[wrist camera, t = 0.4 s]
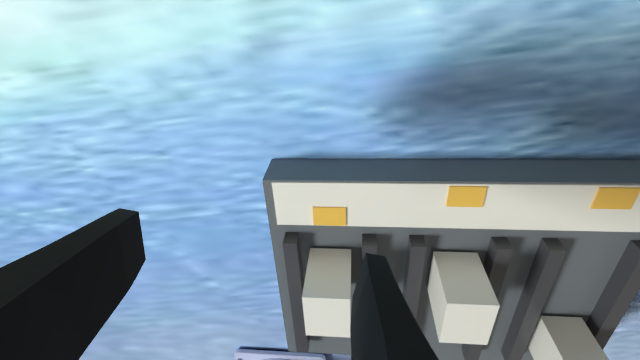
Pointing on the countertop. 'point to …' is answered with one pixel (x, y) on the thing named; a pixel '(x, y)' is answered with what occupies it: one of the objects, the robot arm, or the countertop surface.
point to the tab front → (327, 293)
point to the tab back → (564, 340)
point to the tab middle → (461, 298)
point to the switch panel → (465, 237)
